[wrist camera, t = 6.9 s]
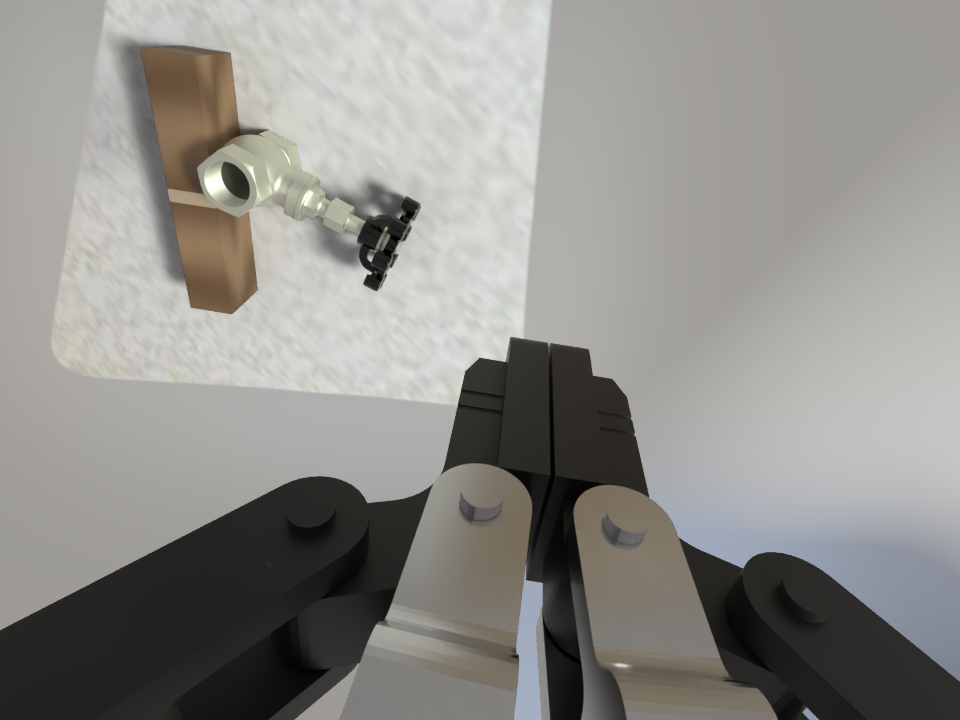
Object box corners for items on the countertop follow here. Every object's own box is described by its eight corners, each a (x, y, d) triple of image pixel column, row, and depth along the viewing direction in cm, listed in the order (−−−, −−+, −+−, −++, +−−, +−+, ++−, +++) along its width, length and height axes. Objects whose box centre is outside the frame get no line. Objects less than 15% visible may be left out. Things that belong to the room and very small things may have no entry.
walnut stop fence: (182, 45, 32) (139, 48, 29) (230, 52, 32) (193, 56, 29) (219, 284, 41) (190, 307, 38) (258, 290, 41) (231, 314, 38)
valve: (235, 187, 37) (392, 269, 39) (181, 217, 32) (367, 310, 34) (260, 95, 34) (429, 190, 36) (204, 109, 28) (409, 220, 30)
